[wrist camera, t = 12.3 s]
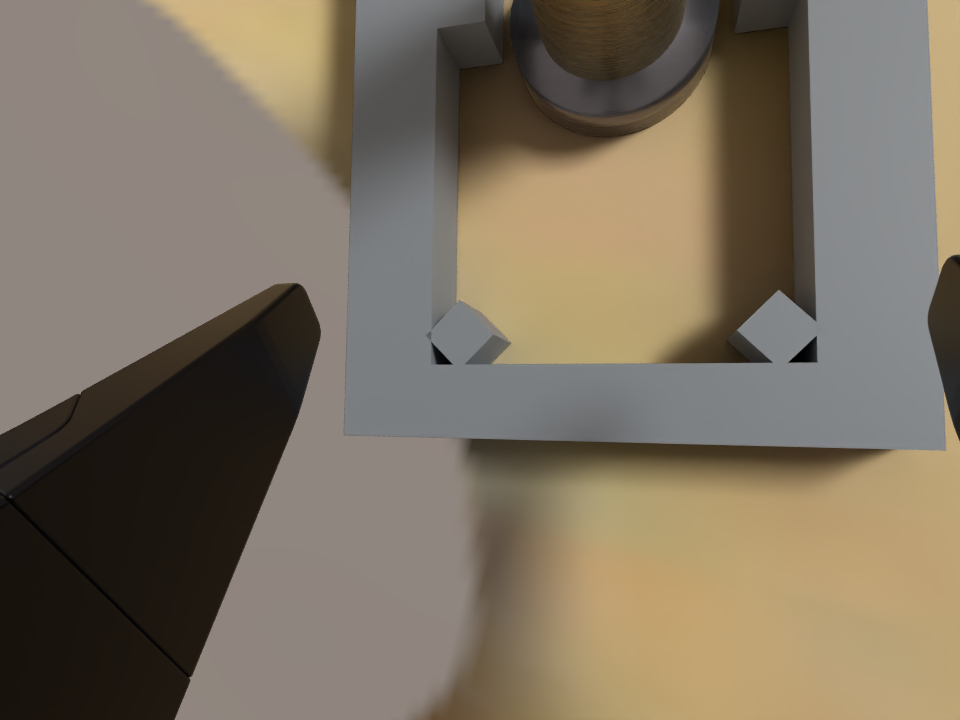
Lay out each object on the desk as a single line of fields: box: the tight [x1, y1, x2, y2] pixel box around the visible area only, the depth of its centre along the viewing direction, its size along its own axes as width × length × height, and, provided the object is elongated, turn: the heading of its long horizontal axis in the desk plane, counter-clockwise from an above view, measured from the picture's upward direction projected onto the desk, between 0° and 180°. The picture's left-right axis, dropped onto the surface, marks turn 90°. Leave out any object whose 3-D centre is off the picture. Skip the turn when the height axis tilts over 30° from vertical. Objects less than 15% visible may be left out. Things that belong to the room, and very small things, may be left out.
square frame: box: [344, 0, 946, 451], centre depth 16 cm, size 16×13×2 cm
